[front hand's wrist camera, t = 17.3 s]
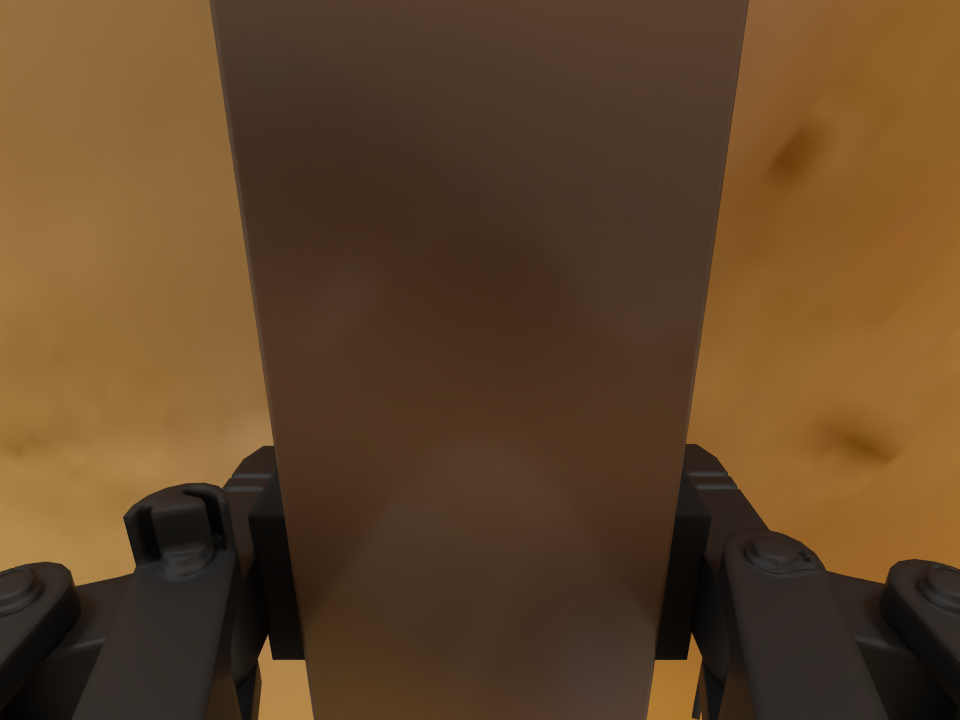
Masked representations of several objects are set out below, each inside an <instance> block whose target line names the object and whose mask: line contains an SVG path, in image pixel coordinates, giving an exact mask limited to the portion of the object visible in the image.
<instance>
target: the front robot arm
mask: <svg viewBox="0 0 960 720" xmlns="http://www.w3.org/2000/svg"><path fill="white" fill-rule="evenodd" d="M123 518H124V522H125V526H126V530H127V533H128V537H129V541H130V544H131V548H132V552H133V556H134V559H135V563H136V568H135V570H134V573H132V574H128V575H125V576H121V577H117V578H112V579H108V580H103V581H98V582H94V583H89V584H84V585H80V586H75V584H74V581H73V578H72V575H71V572H70V570H69V569H67V568H66V567H65V566H63V565H62V564H58V563H51V562H40V563H32V564H25V565H21V566H17V567H15V568H10V569H8V570H5V571H2V572H0V720H258V713H259V704H260V694H261V684H262V681H261V675H260V668H259V663H258V657H259V654H260V652H261V650H262V647H263V645H264V643H265V640H266V638H267V635H268V636H269V641H270V647H271V653H272V658H273V660H305V655H304V648H303V641H302V634H301V628H300V621H299V614H298V607H297V600H296V593H295V586H294V579H293V572H292V565H291V559H290V552H289V545H288V538H287V531H286V524H285V517H284V510H283V503H282V496H281V490H280V483H279V476H278V469H277V462H276V455H275V448H274V446H263V447H261V448H260V449H258V450H257V451H255V452H254V453H252V454H251V455H249V456H248V457H246V458H245V459H243V461H242V462H241V463H240V465H239V466H238V468H237V469H236V470H235V472H234V473H233V474H232V478H230V479H229V480H228V481H227V483H226V484H225V485H224V487H223V490H222V489H221V488H220V487H219V486H216V485H211V484H207V483H186V484H182V485H177V486H173V487H168V488H165V489H163V490H160V491H158V492H155V493H153V494H150V495H148V496H146V497H145V498H143V499H142V500H140V501H139V502H137V503H136V504H134V505H133V506H132V507H131V508H130V509H129V511H128V512H127V513H126V514H125V515H124V517H123ZM691 633H692V634H693V636H694V638H695V641H696V643H697V645H698V648H699V650H700V653H701V655H702V657H703V658H702V663H701V668H700V674H699V679H698V684H697V690H696V695H695V700H694V706H693V712H692V718H694V719H698V720H699V719H700V714H701V712H702V720H960V569H957V568H954V567H952V566H949V565H948V566H947V565H945V564H942V563H937V562H933V561H925V560H918V559H912V560H905V561H899V562H897V563H896V564H895V565H893V566H892V567H891V568H890V570H889V573H888V576H887V579H886V582H885V584H882V583H878V582H873V581H868V580H864V579H859V578H854V577H850V576H845V575H840V574H837V573H833V572H830V571H826V569H825V567H824V565H823V564H822V562H821V561H820V559H819V558H818V557H817V555H816V554H815V553H814V552H813V551H812V550H810V549H809V548H808V547H806V546H805V545H804V544H802V543H801V542H799V541H797V540H795V539H793V538H791V537H789V536H787V535H784V534H782V533H778V532H774V531H770V530H769V529H768V527H767V526H766V525H765V523H764V522H763V521H762V519H761V518H760V516H759V515H758V514H757V512H756V511H755V510H754V508H753V507H752V506H751V504H750V503H749V501H748V500H747V499H746V497H745V496H744V495H743V493H742V492H741V490H740V489H737V485H736V484H735V482H734V481H733V480H732V478H731V477H730V476H728V473H727V471H726V470H725V469H724V467H723V466H722V465H721V463H720V462H719V460H718V459H717V458H716V457H715V456H713V455H712V454H710V453H709V452H707V451H706V450H704V449H703V448H701V447H700V446H698V445H697V444H686V445H685V452H684V459H683V466H682V473H681V480H680V487H679V494H678V501H677V508H676V515H675V522H674V530H673V537H672V544H671V551H670V558H669V565H668V572H667V579H666V586H665V593H664V600H663V607H662V614H661V621H660V628H659V635H658V642H657V649H656V656H655V660H687V656H688V650H689V644H690V639H691Z"/></svg>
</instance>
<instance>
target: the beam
mask: <svg viewBox="0 0 960 720" xmlns="http://www.w3.org/2000/svg"><path fill="white" fill-rule="evenodd" d="M748 2H749V0H210V7H211V14H212V21H213V27H214V34H215V41H216V48H217V55H218V62H219V69H220V76H221V83H222V89H223V96H224V103H225V110H226V117H227V124H228V131H229V138H230V145H231V152H232V158H233V165H234V172H235V179H236V186H237V193H238V200H239V207H240V214H241V221H242V227H243V234H244V241H245V248H246V255H247V262H248V269H249V276H250V283H251V290H252V296H253V303H254V310H255V317H256V324H257V331H258V338H259V345H260V352H261V359H262V365H263V372H264V379H265V386H266V393H267V400H268V407H269V414H270V421H271V428H272V434H273V441H274V448H275V455H276V462H277V469H278V476H279V483H280V490H281V496H282V503H283V510H284V517H285V524H286V531H287V538H288V545H289V552H290V559H291V565H292V572H293V579H294V586H295V593H296V600H297V607H298V614H299V621H300V628H301V634H302V641H303V648H304V655H305V662H306V669H307V676H308V683H309V690H310V697H311V703H312V710H313V717H314V720H646V719H647V712H648V705H649V698H650V691H651V684H652V677H653V670H654V663H655V656H656V649H657V642H658V635H659V628H660V621H661V614H662V607H663V600H664V593H665V586H666V579H667V572H668V565H669V558H670V551H671V544H672V537H673V530H674V522H675V515H676V508H677V501H678V494H679V487H680V480H681V473H682V466H683V459H684V452H685V445H686V438H687V431H688V424H689V417H690V410H691V403H692V396H693V389H694V382H695V375H696V368H697V361H698V354H699V347H700V340H701V333H702V326H703V319H704V312H705V305H706V298H707V291H708V284H709V276H710V269H711V262H712V255H713V248H714V241H715V234H716V227H717V220H718V213H719V206H720V199H721V192H722V185H723V178H724V171H725V164H726V157H727V150H728V143H729V136H730V129H731V122H732V115H733V108H734V101H735V94H736V87H737V80H738V73H739V66H740V59H741V52H742V45H743V38H744V30H745V23H746V16H747V9H748Z"/></svg>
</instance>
